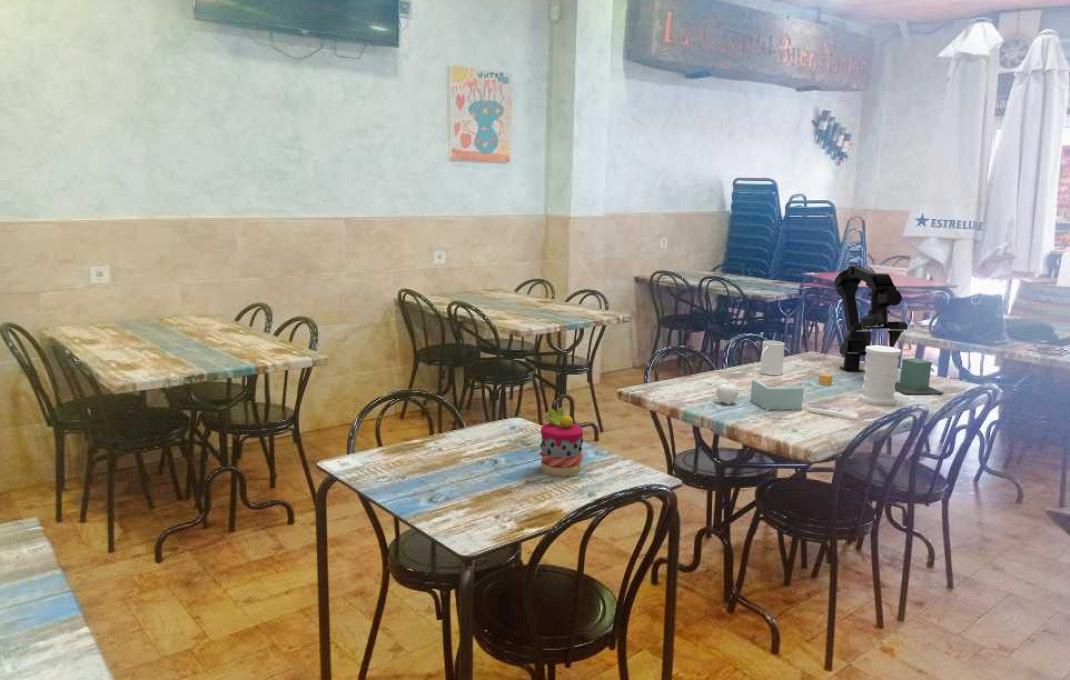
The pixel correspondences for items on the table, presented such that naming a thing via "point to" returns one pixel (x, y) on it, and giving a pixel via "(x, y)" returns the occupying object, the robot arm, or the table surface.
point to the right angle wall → (776, 396)
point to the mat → (918, 392)
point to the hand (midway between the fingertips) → (879, 349)
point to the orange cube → (825, 379)
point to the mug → (772, 357)
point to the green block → (915, 374)
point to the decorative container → (880, 375)
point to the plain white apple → (727, 392)
